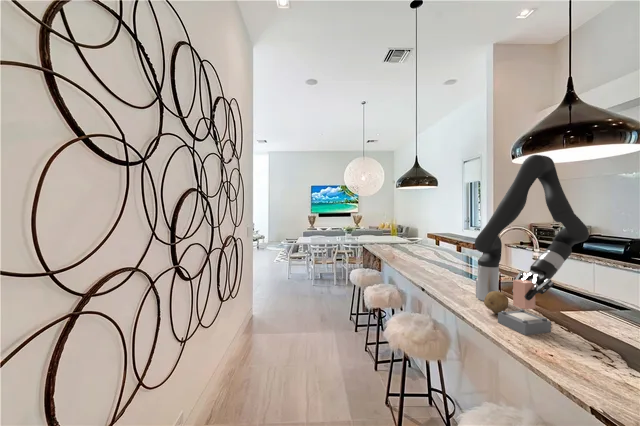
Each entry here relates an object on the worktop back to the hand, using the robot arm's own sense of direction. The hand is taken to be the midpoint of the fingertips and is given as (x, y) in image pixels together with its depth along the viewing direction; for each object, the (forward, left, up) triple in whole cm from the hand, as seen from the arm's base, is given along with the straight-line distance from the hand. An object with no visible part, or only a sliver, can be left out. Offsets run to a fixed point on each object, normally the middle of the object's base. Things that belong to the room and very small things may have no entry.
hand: (520, 296), depth 111 cm
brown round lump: (-14, +3, -12) cm, 19 cm away
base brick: (0, +2, -12) cm, 12 cm away
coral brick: (0, +2, -4) cm, 5 cm away
